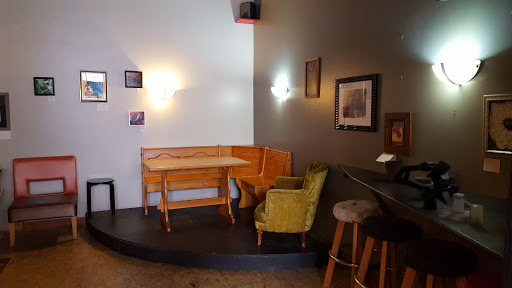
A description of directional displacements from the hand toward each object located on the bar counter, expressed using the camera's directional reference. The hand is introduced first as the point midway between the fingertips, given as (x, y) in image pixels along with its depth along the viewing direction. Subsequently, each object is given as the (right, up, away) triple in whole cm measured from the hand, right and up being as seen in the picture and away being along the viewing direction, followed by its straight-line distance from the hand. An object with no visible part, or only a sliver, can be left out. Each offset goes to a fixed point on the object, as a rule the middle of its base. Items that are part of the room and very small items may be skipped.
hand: (452, 203), depth 219 cm
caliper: (+19, -5, +21) cm, 29 cm away
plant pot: (0, +3, +94) cm, 94 cm away
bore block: (+1, -7, -2) cm, 8 cm away
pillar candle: (0, -3, +40) cm, 40 cm away
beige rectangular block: (+4, -9, -15) cm, 18 cm away
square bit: (+1, -7, -2) cm, 8 cm away
